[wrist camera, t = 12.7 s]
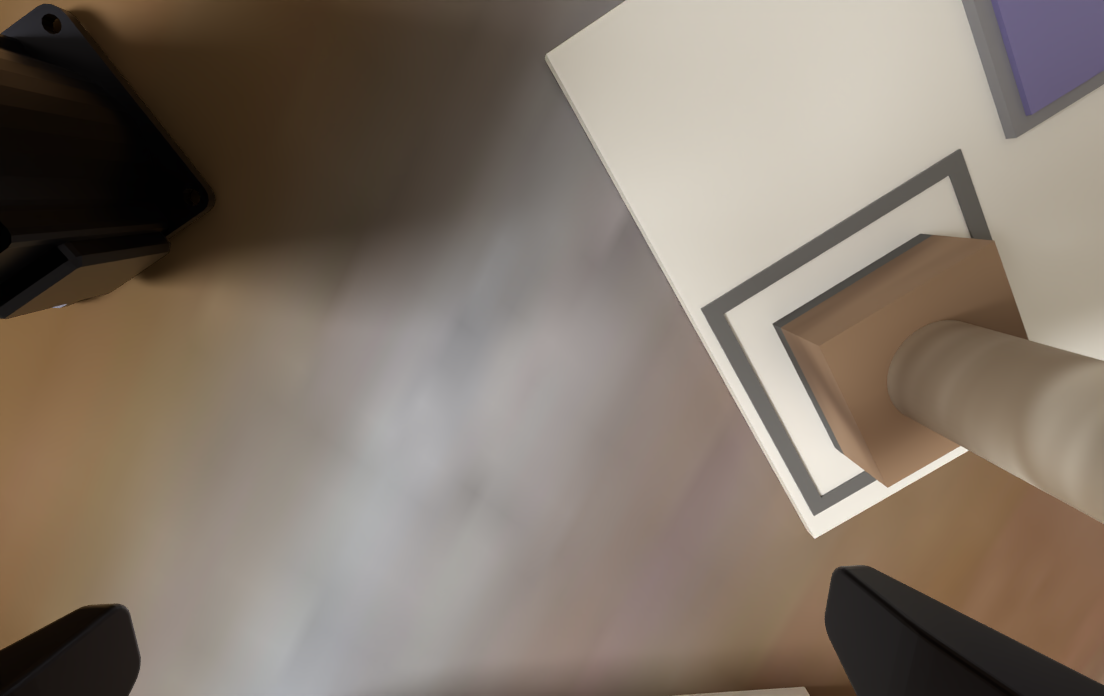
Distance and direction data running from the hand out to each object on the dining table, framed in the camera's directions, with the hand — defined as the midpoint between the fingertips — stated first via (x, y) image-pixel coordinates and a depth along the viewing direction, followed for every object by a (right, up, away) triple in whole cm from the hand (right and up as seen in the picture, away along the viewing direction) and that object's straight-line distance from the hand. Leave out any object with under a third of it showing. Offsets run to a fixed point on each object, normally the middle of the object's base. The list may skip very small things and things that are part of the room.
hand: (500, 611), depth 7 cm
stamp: (+13, +3, +13) cm, 19 cm away
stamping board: (+15, +10, +12) cm, 22 cm away
